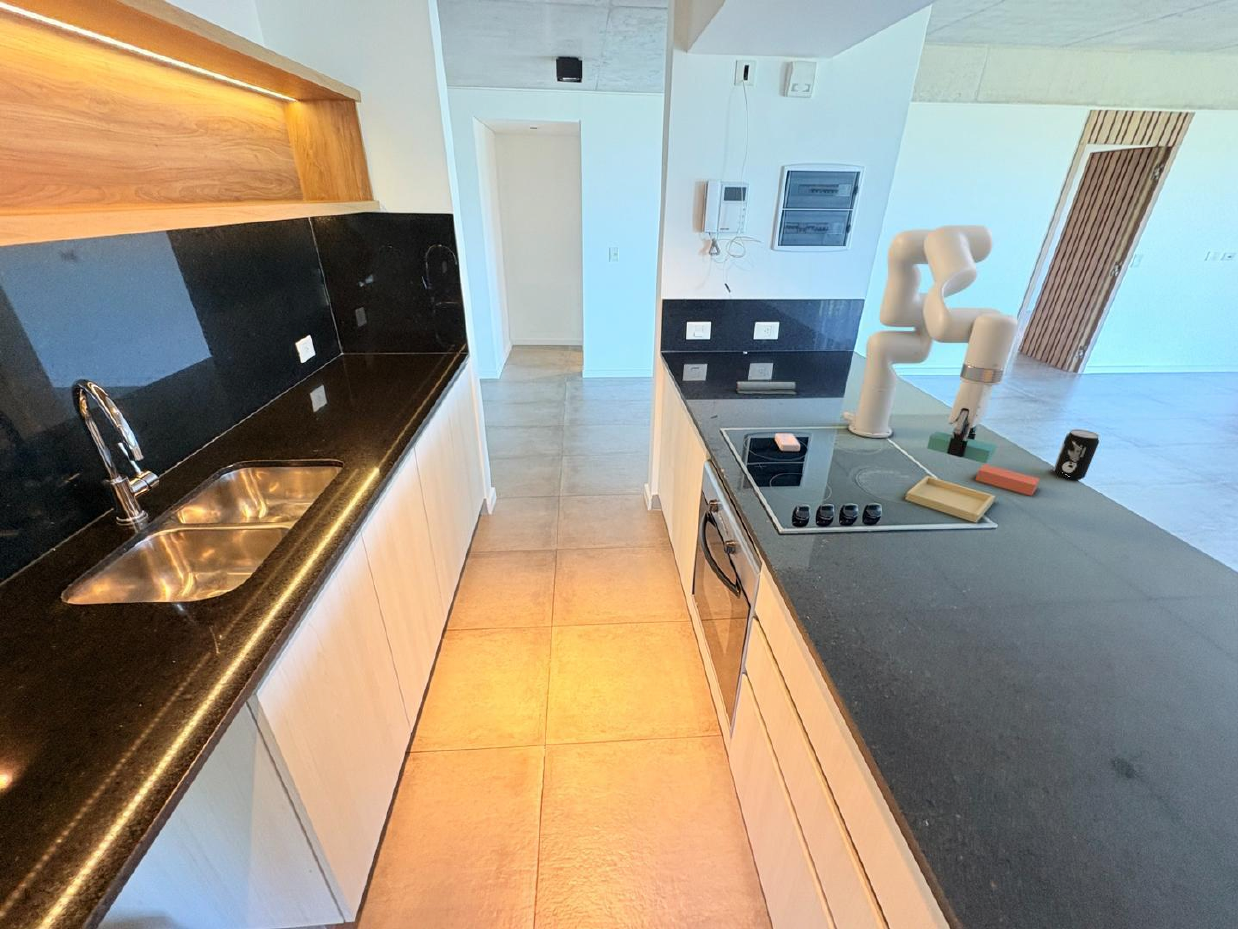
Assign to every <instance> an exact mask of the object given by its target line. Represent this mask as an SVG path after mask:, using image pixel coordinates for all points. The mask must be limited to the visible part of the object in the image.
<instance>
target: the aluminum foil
mask: <svg viewBox="0 0 1238 929" xmlns="http://www.w3.org/2000/svg"><path fill="white" fill-rule="evenodd" d="M736 387H737V388H738V389H737V388H736ZM735 389H736V391H737V393H738V394H746V395H747V394H750V395H751V394H763V395H765V394H767V395H768V394H769V395H770V394H782V395H797V392H796V391H795V390H796V382H795V381H737V382H736V385H735ZM771 389H795V390H771Z"/></svg>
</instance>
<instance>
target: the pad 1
mask: <svg viewBox="0 0 1238 929" xmlns="http://www.w3.org/2000/svg"><path fill="white" fill-rule="evenodd" d="M951 437H952V434H951V433H947V432H942V431H939V430H937V431H936V432H934V433H933V434H932V435H930V436H929V439H928V443H927V447H926V449H928V450H932V451H936V452H939V453H944V454H947V451H948V447H949V443H950V440H951ZM967 441H968V442H967V446H966V449H965V452H964V456H963V457H961V458H962V459H967V460H971V461H974V462H978V463H979V462H980V463H983V464H987V463H988V462H989V461H990V460H992V458H993V457H994V454H995V451H996V446H997V445H996V444H993V443H989V442H985V441H981V440H976V439H974V440H973V439H968V438H967Z"/></svg>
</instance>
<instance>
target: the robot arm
mask: <svg viewBox="0 0 1238 929" xmlns="http://www.w3.org/2000/svg"><path fill="white" fill-rule="evenodd" d="M993 247H994V237H993V233H992V231H991V230H990V229H989V228H988V227H986V226H985V225H977V224H974V225H973V224H972V225H971V224H969V225H968V224H963V225H961V224H954V225H951V224H950V225H942V226H938V227H937V228H934V229H907V230H903V231H901V232H899V233H897V234H896V235H894V236H893V237H892V239H891V242H890V244H889V245H888V248H887V249H888V250H887V259H886V260H887V280H886V282H885V287H884V292H883V295H882V300H881V304H880V309H879V316H878V317H879V322H880V324H881V325H883V326H885V327H889V328H913V330H880V331H876V332H874V333H872V334H871V335H870V336H869V337H868V339H867V341H866V344H865V345H866V346H865V351H866V352H865V366H864V367H865V368H864V374H863V380H862V383H861V384H862V385H861V388H860V394H859V400H858V406H857V410H856V413H852V412H847V411H845V412H844V413H843V420H844V421H849V422H850V423H849V424H848V430H849V431H850V432H851V433H853V434H855V435H858V436H861V437H866V438H871V439H872V438H873V439H884V438H887V437H888V438H889V437H891V435H892V433H893V429H892V428H891V427H889V422H890V417H891V412H892V409H893V408H892V407H893V403H894V401H895V400H894V399H895V395H896V390H897V386H898V380H899V379H898V378H899V377H898V374H897V372H896V370H895V369H894V367H893V365H896V364H901V365H902V364H904V365H905V364H906V365H907V364H909V365H910V364H911V365H912V364H913V365H914V364H921V363H924V362H925V361H927V359H928V357H929V356H930V354H931V352H932V348H933V345H934V341H935V342H937V343H941V344H967V348H966V352H965V356H964V359H963V363H962V367H961V370H960V374H959V376H958V377H959V378H958V379H959V380H961V383H960V386H959V388H958V391H957V392H956V396H955V399H954V401H953V405H952V408H951V411H950V414H949V418H948V421H947V423H948V424H949V425H953V424H954V423H955V425H954V428H953V431H952V434H951V435H952V437H951V440H950V443H949V447H948V451H947V453H946V454H947V455H950V456H954V457H958V458H962V457H963V456H964V452H965V449H966V446H967V442H968V441H967V438H968V439H973V440H976V439H975V438H976V435H977V430H978V426H979V424H980V423H981V422H982V421H983V420H984V418H985V417H986V414H987V411H988V408H989V405H990V401H991V397H992V395H993V390H994V387H995V386H996V385H1000V384H1001V382H1002V379H1003V376H1004V373H1005V370H1006V365H1007V362H1008V359H1009V356H1010V352H1011V350H1012V346H1013V342H1014V339H1015V336H1016V333H1017V330H1018V326H1019V320H1018V318H1017V317H1016V316H1014V315H1011V314H1005V313H1002V312H1001V311H1000V310H999V309H995V308H992V307H991V308H988V307H949V306H948V305H947V303H946V298H948V297H951V296H953V295H956V294H958V293H960V292H962V291H964V290H967V288H969V287H970V286H971V285H972V284H973V283H974V282H975V281H976V279H977V277H978V268H977V265H976V264H979V263H981V262H983V261H985V260H986V259H987V258H988V257H989V256H990V254H991V252H992V251H993ZM919 265H928V267H929V270H930V273H931V276H932V279H933V282H934V283H933V285H932V286H931V287H930V288H929V290H928V292H919V289H920V286H921V282H922V272H921V270H920V268H919Z"/></svg>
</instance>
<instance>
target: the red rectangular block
mask: <svg viewBox="0 0 1238 929" xmlns="http://www.w3.org/2000/svg"><path fill="white" fill-rule="evenodd" d="M975 477H976V478H975V481H977V482H979V483H980V482H981V483H985V484H988V485H991V486H993V487H994V486H995V487H998V488H1002V489H1006V490H1009V491H1013V492H1016V493H1020V494H1023V495H1025V496H1029V497H1030V496H1031V497H1032V496H1033V495H1034V493H1035V491H1036V490H1037V487H1038V485H1039V482H1040V478H1038V477H1036V476H1035V477H1034V476H1030V475H1027V474H1023V473H1020V472H1015V471H1011V470H1007V469H1004V468H1000V467H995V466H992V465H988V464H986V463H983V465H982V466H981V467H980V468H979V469H978V471H977V474H976V476H975Z"/></svg>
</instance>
